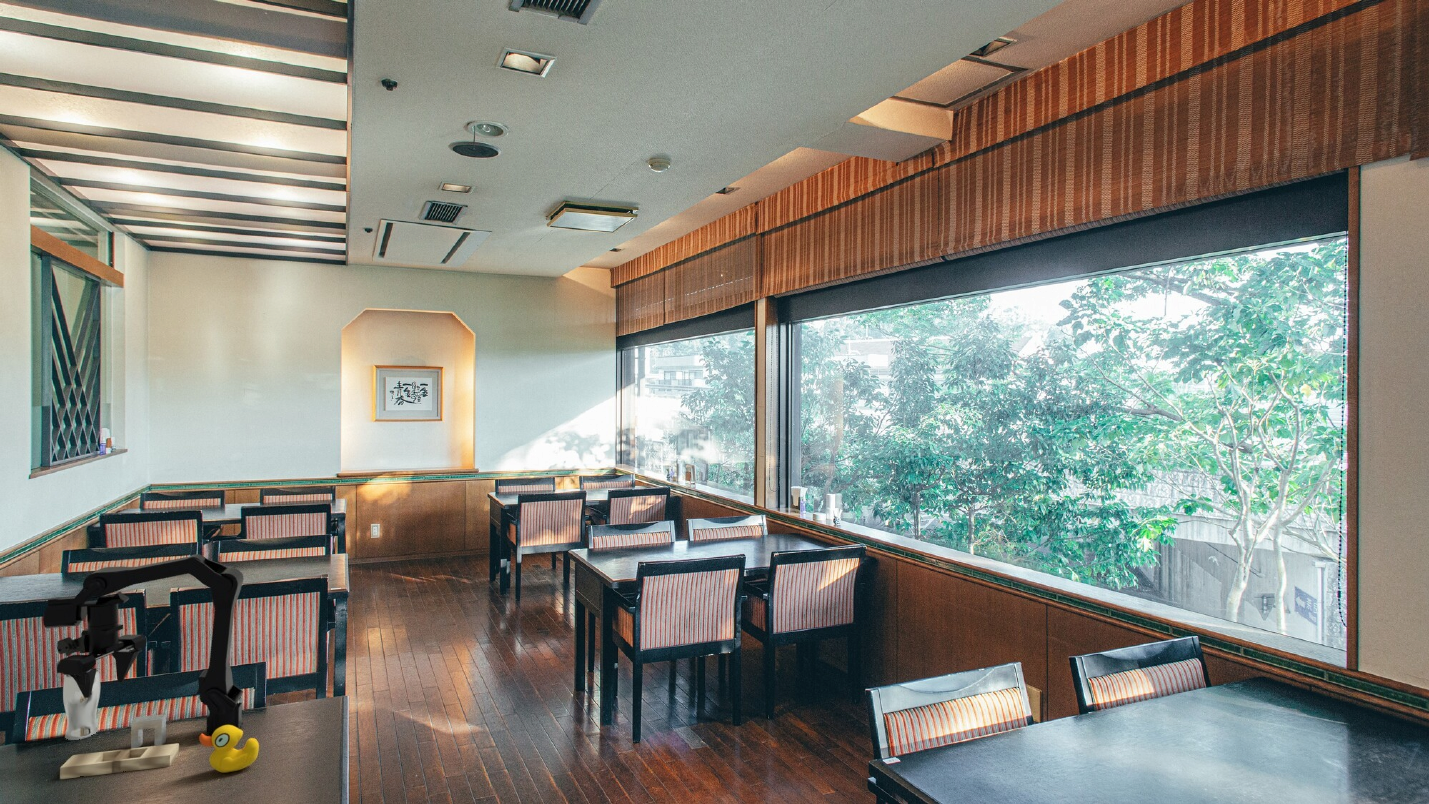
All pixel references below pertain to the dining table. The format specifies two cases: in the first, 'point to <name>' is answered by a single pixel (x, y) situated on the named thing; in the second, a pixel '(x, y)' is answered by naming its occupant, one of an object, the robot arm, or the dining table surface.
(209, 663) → the robot arm
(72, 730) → the beer glass
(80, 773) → the rail
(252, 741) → the duckling
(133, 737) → the clip
